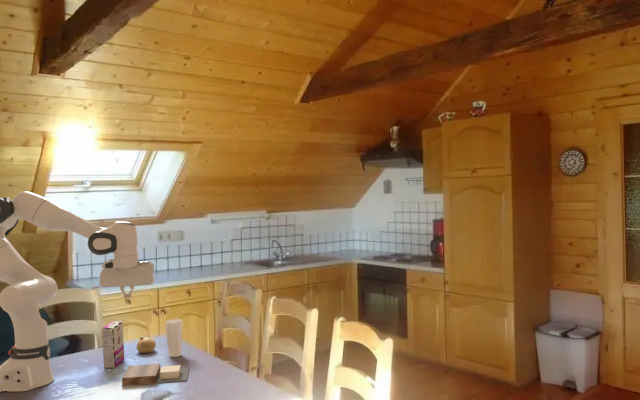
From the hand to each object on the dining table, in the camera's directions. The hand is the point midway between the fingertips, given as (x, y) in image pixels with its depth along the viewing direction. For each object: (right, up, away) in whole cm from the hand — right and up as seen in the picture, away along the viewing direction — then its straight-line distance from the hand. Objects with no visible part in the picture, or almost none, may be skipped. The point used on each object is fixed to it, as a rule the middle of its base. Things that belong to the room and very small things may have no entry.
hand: (127, 297), depth 224 cm
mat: (+20, -29, -7) cm, 36 cm away
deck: (+8, -29, -9) cm, 32 cm away
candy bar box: (-9, -29, +10) cm, 32 cm away
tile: (+19, -29, -7) cm, 35 cm away
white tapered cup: (+14, -28, +18) cm, 37 cm away
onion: (0, -29, +25) cm, 38 cm away
